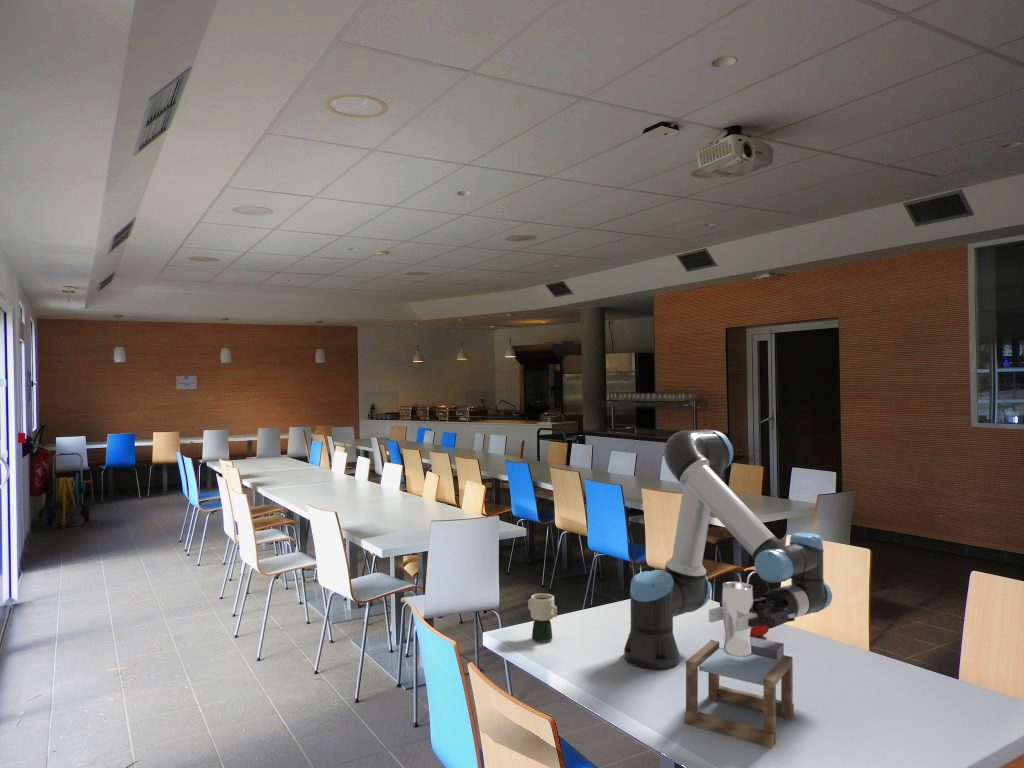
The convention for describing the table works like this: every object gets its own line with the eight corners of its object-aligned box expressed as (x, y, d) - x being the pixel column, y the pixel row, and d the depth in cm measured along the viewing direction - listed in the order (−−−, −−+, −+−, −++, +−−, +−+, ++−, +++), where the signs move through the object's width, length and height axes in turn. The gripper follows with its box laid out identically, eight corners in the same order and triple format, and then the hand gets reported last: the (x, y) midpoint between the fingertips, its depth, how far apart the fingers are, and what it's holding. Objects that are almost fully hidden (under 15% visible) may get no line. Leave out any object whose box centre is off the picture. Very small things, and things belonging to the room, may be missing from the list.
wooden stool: (684, 723, 154) (684, 662, 155) (712, 693, 170) (712, 638, 170) (772, 748, 143) (772, 682, 144) (793, 714, 159) (793, 655, 159)
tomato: (730, 637, 211) (730, 609, 211) (737, 627, 220) (737, 600, 220) (766, 644, 206) (766, 614, 206) (772, 633, 215) (772, 605, 215)
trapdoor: (788, 661, 165) (788, 644, 165) (763, 692, 147) (763, 673, 147) (729, 648, 173) (729, 632, 173) (699, 677, 155) (699, 659, 155)
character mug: (563, 641, 206) (564, 597, 206) (548, 647, 201) (549, 602, 201) (536, 632, 213) (536, 590, 214) (520, 638, 208) (521, 595, 208)
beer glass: (716, 646, 159) (716, 581, 159) (746, 646, 159) (745, 581, 160) (728, 658, 152) (728, 589, 152) (759, 657, 153) (759, 589, 153)
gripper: (822, 630, 158) (761, 650, 145) (749, 608, 174) (688, 625, 161) (822, 597, 158) (761, 614, 145) (749, 579, 174) (688, 593, 161)
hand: (723, 620), depth 153 cm, fingers closed on beer glass, 7 cm apart
